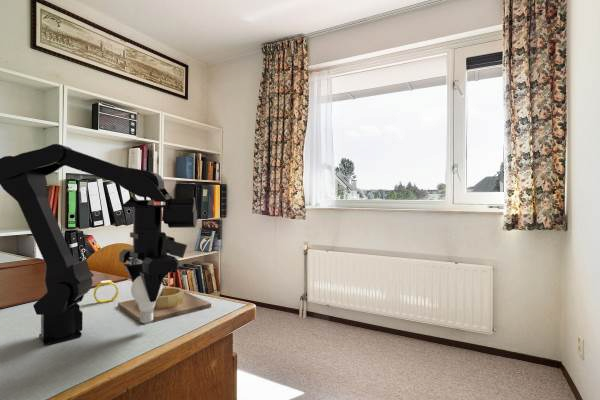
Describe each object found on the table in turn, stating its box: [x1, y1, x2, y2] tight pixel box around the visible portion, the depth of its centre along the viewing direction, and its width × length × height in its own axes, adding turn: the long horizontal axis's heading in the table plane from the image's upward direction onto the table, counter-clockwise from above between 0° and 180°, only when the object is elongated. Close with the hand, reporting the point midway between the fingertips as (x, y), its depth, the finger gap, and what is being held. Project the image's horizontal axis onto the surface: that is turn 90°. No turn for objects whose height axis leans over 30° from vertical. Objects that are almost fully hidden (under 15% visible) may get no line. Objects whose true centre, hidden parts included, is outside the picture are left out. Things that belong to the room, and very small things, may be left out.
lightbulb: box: [130, 275, 164, 325], centre depth 73 cm, size 6×6×11 cm
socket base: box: [117, 291, 212, 325], centre depth 90 cm, size 18×18×1 cm
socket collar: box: [154, 286, 185, 309], centre depth 90 cm, size 10×10×3 cm
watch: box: [93, 279, 119, 304], centre depth 94 cm, size 6×3×6 cm, turn 127°
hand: (146, 298), depth 73 cm, fingers closed on lightbulb, 6 cm apart
